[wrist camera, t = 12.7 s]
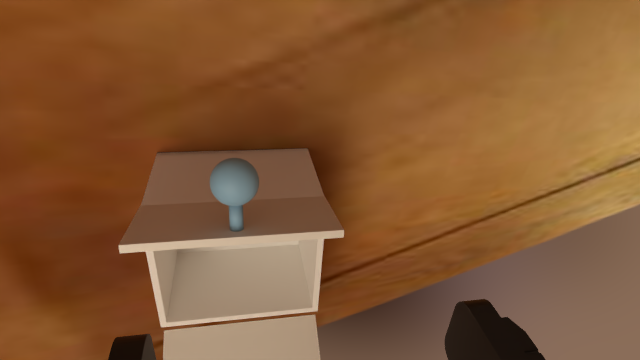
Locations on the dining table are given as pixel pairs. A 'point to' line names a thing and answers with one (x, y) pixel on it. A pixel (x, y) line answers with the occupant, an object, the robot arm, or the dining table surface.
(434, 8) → the dining table surface
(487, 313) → the robot arm
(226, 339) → the flap open
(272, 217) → the flap with blue knob
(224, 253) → the carton
